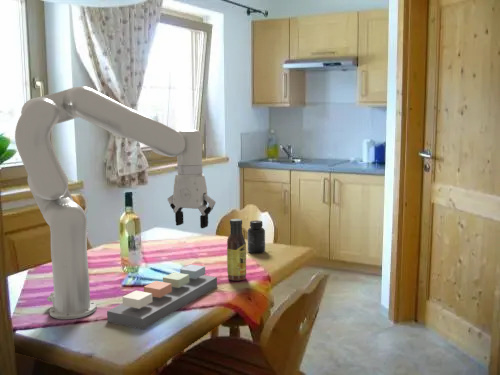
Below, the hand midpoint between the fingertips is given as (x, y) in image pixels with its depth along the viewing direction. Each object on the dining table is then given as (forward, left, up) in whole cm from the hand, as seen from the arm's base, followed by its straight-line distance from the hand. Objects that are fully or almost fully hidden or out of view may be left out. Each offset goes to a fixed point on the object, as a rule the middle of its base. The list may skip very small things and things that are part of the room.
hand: (191, 225), depth 169 cm
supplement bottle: (-1, +46, -20) cm, 50 cm away
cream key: (0, -27, -16) cm, 31 cm away
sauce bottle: (+8, +14, -20) cm, 26 cm away
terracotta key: (0, -18, -16) cm, 24 cm away
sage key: (0, -9, -16) cm, 18 cm away
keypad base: (0, -14, -20) cm, 24 cm away
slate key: (0, 0, -16) cm, 16 cm away
